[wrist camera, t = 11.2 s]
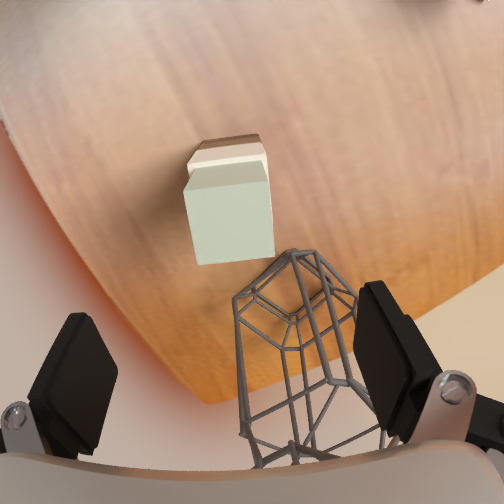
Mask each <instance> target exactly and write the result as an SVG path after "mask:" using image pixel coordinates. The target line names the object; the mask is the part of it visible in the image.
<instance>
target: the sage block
mask: <svg viewBox="0 0 504 504" xmlns="http://www.w3.org/2000/svg"><path fill="white" fill-rule="evenodd" d="M183 194H184V199H185V205H186V210H187V215H188V220H189V225H190V230H191V235H192V240H193V245H194V250H195V255H196V259H197V264H198V265H206V264H215V263H224V262H233V261H242V260H250V259H259V258H268V257H275V248H274V236H273V224H272V213H271V202H270V191H269V181H268V178H267V175H266V172H265V169H264V166H263V163H262V160H256V161H247V162H238V163H230V164H222V165H215V166H207V167H200V168H195V170H194V172H193V174H192V176H191V177H190V179H189V181H188V183H187V185H186V187H185V189H184V191H183Z"/></svg>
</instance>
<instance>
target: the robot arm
mask: <svg viewBox="0 0 504 504" xmlns="http://www.w3.org/2000/svg"><path fill="white" fill-rule="evenodd" d="M353 350H354V354H355V357H356V360H357V363H358V365H359V368H360V371H361V373H362V376H363V379H364V382H365V385H366V388H367V390H368V393H369V396H370V399H371V402H372V405H373V408H374V411H375V414H376V417H377V420H378V422H379V425H380V428H381V430H382V431H385V430H386V431H387V434H388V436H389V438H390V437H393V436H397V435H398V436H399V439H400V441H402V442H403V443H402V445H398V446H393V447H389V448H384V449H379V450H375V451H371V452H367V453H362V454H357V455H353V456H348V457H342V458H336V459H330V460H325V461H319V462H313V463H306V464H299V465H292V466H285V467H284V466H283V467H274V468H264V469H250V470H235V471H234V470H233V471H168V470H150V469H138V468H127V467H119V466H110V465H103V464H96V463H90V462H84V461H79V460H78V457H77V456H78V453H80V454H84V455H91V456H92V455H93V451H94V449H95V448H97V446H98V443H99V439H100V435H101V431H102V428H103V424H104V420H105V417H106V413H107V410H108V406H109V403H110V399H111V395H112V392H113V389H114V385H115V382H116V379H117V375H118V369H117V366H116V364H115V362H114V360H113V358H112V357H111V355H110V353H109V351H108V349H107V347H106V345H105V344H104V342H103V340H102V338H101V336H100V334H99V332H98V330H97V328H96V326H95V324H94V322H93V320H92V318H91V317H90V316H88V315H87V314H86V313H84V312H81V313H71V314H70V315H69V316H68V318H67V320H66V321H65V323H64V325H63V327H62V329H61V330H60V332H59V334H58V336H57V338H56V340H55V341H54V343H53V345H52V347H51V349H50V351H49V353H48V355H47V357H46V359H45V361H44V363H43V365H42V367H41V369H40V371H39V373H38V375H37V377H36V379H35V381H34V383H33V386H32V388H31V390H30V392H29V394H28V396H27V398H28V399H29V400H30V402H29V405H28V404H27V403H25V402H22V401H18V402H15V403H12V404H11V405H9V406H8V407H7V408H6V409H5V410H4V412H3V414H2V416H1V420H0V421H1V428H0V504H504V403H502V402H499V401H496V400H493V399H491V398H487V397H485V396H482V395H479V394H477V389H476V386H475V383H474V382H473V380H472V378H471V377H469V376H468V375H467V374H465V373H463V372H461V371H456V370H448V371H445V372H443V371H442V369H441V367H440V366H439V364H438V362H437V360H436V358H435V357H434V355H433V353H432V351H431V350H430V348H429V346H428V345H427V343H426V341H425V339H424V338H423V336H422V334H421V333H420V331H419V330H418V328H417V326H416V324H415V323H414V321H413V320H412V318H411V317H410V316H409V315H407V314H406V315H404V314H403V312H402V311H401V309H400V307H399V306H398V304H397V303H396V301H395V299H394V298H393V296H392V294H391V293H390V291H389V290H388V288H387V287H386V285H385V283H384V282H383V281H382V280H379V281H373V282H366V283H365V285H364V287H362V288H360V290H359V300H358V309H357V318H356V326H355V334H354V341H353Z"/></svg>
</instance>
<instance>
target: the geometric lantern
mask: <svg viewBox="0 0 504 504" xmlns="http://www.w3.org/2000/svg"><path fill="white" fill-rule="evenodd" d="M310 254H313V255H314V258H315V262H316V264H315V263H313V262H312V261H311V260H310V259H309V258H307V257H306V256H308V255H310ZM294 256H295V257H296V258H295V257H294ZM298 256H300V257H298ZM283 257H284V258H283ZM282 258H283V259H282ZM302 258H304V259H305V260H307V261H308V262H309V263H310V264H312V265H313V266H314V267H315V268H316V269H318V272H319V274H317V273H316V272H315V271H314V270H312V269H311V268H310V267H309V266H307V265H306V264H305V263H304V262H302V261H301V260H300V259H302ZM286 261H287V262H286ZM296 261H298V262H299V263H300V264H301V265H303V266H304V267H305V268H306V269H308V270H309V271H310V272H311V273H313V274H314V275H315V276H316V277H318V278H319V279H320V280H321V283H322V286H323V289H322V290H321V291H320V292H319V293H318V294H317V295H316V296H314V297H313V298H312V299H311V300H310V301H309V298H308V295H307V292H306V289H305V286H304V283H303V280H302V277H301V274H300V271H299V268H298V265H297V262H296ZM285 262H286V263H285ZM284 263H285V264H284ZM289 263H292V266H293V269H294V272H295V275H296V278H297V281H298V285H299V288H300V291H301V295H302V298H303V301H304V306H303V307H302V308H301V309H300V310H299V311H297V312H296V313H291V314H288V313H287V312H285V311H284V310H282V309H281V308H279V307H278V306H277V305H275V304H274V303H272V302H271V301H269V300H268V299H266V298H265V297H264V296H262V295H261V294H259V293H258V292H259V291H260V290H261V289H263V288H264V287H265V286H266V285H267V284H268V283H269V282H270V281H271V280H272V279H273V278H274V277H276V276H277V275H278V274H279V273H280V272H281V271H282V270H283V269H284V268H285V267H286V266H287V265H288V264H289ZM321 263H322V264H323V265H324V266H325V267H326V268H327V269H328V270H329V271H330V272H331V273H332V274H333V275H334V276H335V277H336V278H337V280H338V281H339V282H340V283H341V284H342V285H343V286H344V287H345V288H346V289H347V290H348V291H345V290H342V289H339V288H336V287H334V286H333V283H332V281H331V279H330V276H329V275H328V274H327V273H325V272H324V271H323V268H322V265H321ZM282 264H284V265H283V266H282V267H281V268H280V269H279V270H278V271H277V272H275V273H274V274H273V275H272V276H271V277H270V278H269V279H268V280H267V281H266V282H265V283H264V284H263V285H262V286H260V287H259V288H258V289H257V290H256V289H255V285H257V284H258V283H259V282H261V281H262V280H263V279H264V278H266V277H267V276H268V275H270V274H271V273H272V272H273V271H275V270H276V269H277V268H279V267H280V266H281V265H282ZM325 276H326V277H327V278H328V282H327V281H326V278H325ZM328 287H329V288H328ZM251 288H253V293H249V294H245V293H246V292H247V291H249V290H250V289H251ZM329 290H330V291H329ZM334 290H336V291H339V292H342V293H345V294H348V295H351V296H353V297H354V298H355V299H354V305H353V308H352V307H351V306H350V305H349V304H347V303H346V302H345V301H344V300H343V299H341V298H340V297H339V296H338V295H337V294H335V293H334ZM323 292H324V294H325V298H324V299H323V300H321V301H320V302H319V303H318V304H317V305H316V306H315V307H313V308H311V305H310V303H312V302H313V301H314V300H315V299H316V298H317V297H318V296H320V295H321V294H322V293H323ZM331 295H334V296H335V297H336V298H337V299H338V300H340V301H341V302H342V303H343V304H344V305H346V306H347V307H348V308H349V309H350V310H352V311H351V312H349V313H348V314H347V315H345V316H344V317H343V318H341V319H340V320H338V319H337V315H336V312H335V308H334V305H333V301H332V298H331ZM249 296H253V300H252V301H250V302H249V303H248V304H247V305H246V306H245V307H244V308H242V309H241V310H240V311H239V312H238V307H237V299H239V298H244V297H249ZM257 296H259V297H260V298H262V299H263V300H265V301H266V302H268V303H269V304H270V305H272V306H273V307H275V308H276V309H278V310H279V311H281V312H282V313H284V314H285V315H287V316H288V319H289V320H288V319H286V318H284V317H283V316H281V315H280V314H278V313H276V312H275V311H273V310H272V309H270V308H269V307H267V306H265V305H264V304H262V303H261V302H259V301H258V300H257ZM325 300H326V301H327V305H328V309H329V312H330V316H331V320H332V324H333V325H331V326H330V327H328V328H327V329H325V330H324V331H323V332H321V333H319V330H318V327H317V324H316V320H315V317H314V314H313V311H314V310H315V309H316V308H317V307H319V306H320V305H321V304H322V303H323V302H324V301H325ZM358 300H359V296H358V295H357V294H356V292H355V291H354V290H353V289H352V288H351V287H350V286H349V285H348V284H347V283H346V282H345V281H344V279H343V278H342V277H341V276H340V275H339V274H338V273H337V272H336V271H335V270H334V269H333V268H332V267H331V265H330V264H329V263H328V262H327V261H326V260H325V259H324V258H323V257H322V256H321V255H320V254H319V253H318V252H317V251H316V250H303V251H299V250H298V249H296V248H295V249H291V250H288V251H285V252H284V253H283V254H282V255H281V256H280V257H279V258H278V259H277V260H276V261H275V262H274V263H273V264H272V265H271V266H270V267H269V268H268V269H267V270H266V271H265V272H264V273H263V274H262V275H261V276H260V277H258V278H257V279H256V280H254V281H253V282H252V283H251V284H249V285H248V286H247V287H245V288H244V289H243V290H242V291H240V292H239V293H238V294H236V295H235V296H234V297H233V298H232V308H233V315H234V324H235V344H236V364H237V383H238V400H239V418H240V433H239V436H241V437H244V438H246V439H248V440H249V443H250V446H251V450H252V454H253V458H254V463H255V466H254V467H253V468H252V469H263V467H264V466H265V465H266V464H268V463H270V462H272V461H274V460H276V459H278V458H280V457H282V456H284V455H286V454H290V455H291V457H292V460H293V462H292V464H291V465H290V466H292V465H299V464H300V463H299V459H300V457H314V458H316V459H318V460H319V461H325V460H330V459H336V458H342V457H340V456H336V455H333V454H329V453H328V452H330V451H332V450H334V449H336V448H338V447H341V446H343V445H345V444H347V443H349V442H351V441H353V440H355V439H357V438H359V437H361V436H363V435H365V434H367V433H369V432H371V431H373V430H375V429H377V428H379V427H380V425H379V424H377V425H375V426H373V427H371V428H369V429H368V430H366V431H364V432H362V433H360V434H358V435H356V436H354V437H352V438H350V439H348V440H346V441H344V442H342V443H339V444H337V445H335V446H333V447H331V448H329V449H327V450H324V451H319V450H317V449H316V440H315V430H316V429H317V427H318V425H319V423H320V422H321V420H322V418H323V416H324V414H325V412H326V410H327V409H328V407H329V405H330V403H331V401H332V399H333V397H334V395H335V393H336V391H337V390H338V388H339V386H345V387H351V388H352V389H353V390H354V391H355V392H356V393H357V395H358V396H359V397H360V398H361V399H362V400H363V401H364V402H365V403H366V405H367V406H368V407H369V408H370V409H371V410H372V411H373V412H374V413H375V411H374V408H373V405H372V402H371V399H370V398H369V397H368V396H367V395H369V393H368V390H367V388H365V387H364V386H362V385H361V384H360V383H359V382H357V381H356V380H355V379H353V376H352V372H351V368H350V364H349V360H348V356H347V352H346V348H345V344H344V341H343V337H342V333H341V330H340V326H339V324H341V323H342V322H344V321H345V320H346V319H348V318H349V317H351V316H353V319H354V323H355V326H356V318H357V315H356V309H357V306H358ZM254 302H256V303H257V304H259V305H260V306H262V307H264V308H265V309H267V310H268V311H270V312H271V313H273V314H275V315H276V316H278V317H279V318H281V319H283V320H284V321H286V322H287V323H289V325H288V328H287V331H286V335H285V338H284V341H283V344H282V346H280V345H279V344H277V343H276V342H275V341H273V340H272V339H270V338H269V337H268V336H266V335H265V334H263V333H262V332H261V331H259V330H258V329H256V328H255V327H254V326H252V325H251V324H250V323H248V322H247V321H246V320H244V319H243V318H241V317H240V316H239V315H240V314H241V313H242V312H243V311H244V310H246V309H247V308H248V307H249V306H250V305H251V304H252V303H254ZM305 308H306V312H307V313H306V314H305V315H304V316H303V317H302V318H301V319H299V317H298V314H299V313H300V312H301V311H302V310H304V309H305ZM294 315H296V320H297V322H291V316H294ZM307 316H308V318H309V322H310V325H311V329H312V332H313V336H314V338H312V339H311V340H309V341H308V342H306V343H305V344H303V345H302V340H301V335H300V330H299V325H298V324H299V323H300V322H301V321H302V320H304V319H305V318H306V317H307ZM239 321H240V322H241V323H243V324H244V325H246V326H247V327H248V328H250V329H251V330H252V331H254V332H255V333H257V334H258V335H259V336H261V337H262V338H264V339H265V340H267V341H268V342H269V343H271V344H272V345H274V346H275V347H277V348H278V349H279V350H280V353H281V359H282V365H283V372H284V378H285V384H286V390H287V396H288V399H287V400H285V401H283V402H281V403H279V404H277V405H275V406H273V407H271V408H269V409H268V410H266V411H263V412H261V413H259V414H257V415H255V416H253V417H251V416H250V408H249V399H248V391H247V383H246V375H245V367H244V359H243V350H242V342H241V333H240V325H239ZM292 324H296V328H297V333H298V338H299V344H300V347H284V346H285V343H286V340H287V337H288V334H289V331H290V328H291V325H292ZM332 329H334V331H335V335H336V339H337V343H338V347H339V351H340V355H341V359H342V363H343V367H344V370H345V374H346V378H347V379H346V380H343V379H334V378H333V377H332V374H331V370H330V367H329V363H328V360H327V356H326V353H325V350H324V346H323V343H322V340H321V337H322V336H324V335H325V334H326V333H328V332H329V331H331V330H332ZM313 342H315V343H316V346H317V350H318V353H319V357H320V360H321V364H322V368H323V371H324V375H325V378H324V379H323V380H321V381H319V382H317V383H316V384H314V385H312V386H310V387H308V380H307V372H306V365H305V358H304V350H303V349H304V348H306V347H307V346H309V345H310V344H312V343H313ZM284 351H300V357H301V366H302V374H303V381H304V388H305V390H303V391H302V392H300V393H298V394H296V395H294V396H292V393H291V387H290V382H289V376H288V370H287V365H286V359H285V353H284ZM325 383H327V384H329V385H333V386H335V387H334V389H333V391H332V393H331V394H330V396H329V398H328V400H327V402H326V404H325V406H324V408H323V409H322V411H321V413H320V415H319V417H318V418H317V420H316V422H315V424H313V417H312V409H311V401H310V395H309V392H311V391H313V390H315V389H317V388H318V387H320V386H322V385H324V384H325ZM365 393H366V394H367V395H366V394H365ZM304 395H305V396H306V405H307V413H308V422H309V431H310V433H309V434H308V436H307V438H306V439H305V441H304V443H303V445H300V442H299V434H298V429H297V422H296V417H295V411H294V405H293V401H295V400H297V399H298V398H300V397H302V396H304ZM287 404H289V408H290V415H291V421H292V427H293V434H294V440H295V442H294V441H293V440H290V441H288V445H287V446H286V447H284V448H280V447H277V446H274V445H271V444H269V443H266V442H264V441H261V440H258V439H256V438H254V436H253V434H252V431H251V429H250V427H251V424H252V423H251V422H253V421H255V420H257V419H259V418H261V417H263V416H265V415H267V414H269V413H271V412H273V411H275V410H277V409H279V408H281V407H283V406H285V405H287ZM375 415H376V414H375ZM385 435H386V430H385V431H382V430H381V436H380V445H379V449H384V444H385ZM310 439H311V448H310V447H307V446H306V445H307V444H308V443H309V441H310ZM399 441H400V439H399V436H398V435H397V436H394V437H393V439H392V440H391V442H390V443H389V445H388V447H387V448H389V447H393V446H397V445H398V442H399ZM256 443H259V444H261V445H264V446H267V447H269V448H272V449H275V450H278V451H276V452H274V453H272V454H270V455H268V456H266V457H264V458H263V459H262V456H261V454H260V451H259V449H258V446H257V444H256Z"/></svg>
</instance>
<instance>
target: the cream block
mask: <svg viewBox="0 0 504 504" xmlns="http://www.w3.org/2000/svg"><path fill="white" fill-rule="evenodd" d="M256 160H262V163H263V166H264V169H265V172H266V175H267V178H268V181H269V177H268V167H267V157H266V152H265V150H264V148H263V146H262V144H261V142H257V143H248V144H240V145H232V146H224V147H217V148H210V149H203V150H196V152H195V153H194V155H193V156H192V158H191V159H190V160H189V162H188V163H187V167H188V173H189V179H190V177H191V176H192V174H193V172H194V170H195V168H200V167H207V166H215V165H222V164H230V163H238V162H247V161H256ZM269 191H270V187H269ZM270 202H271V198H270ZM271 213H272V208H271ZM272 224H273V219H272Z"/></svg>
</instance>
